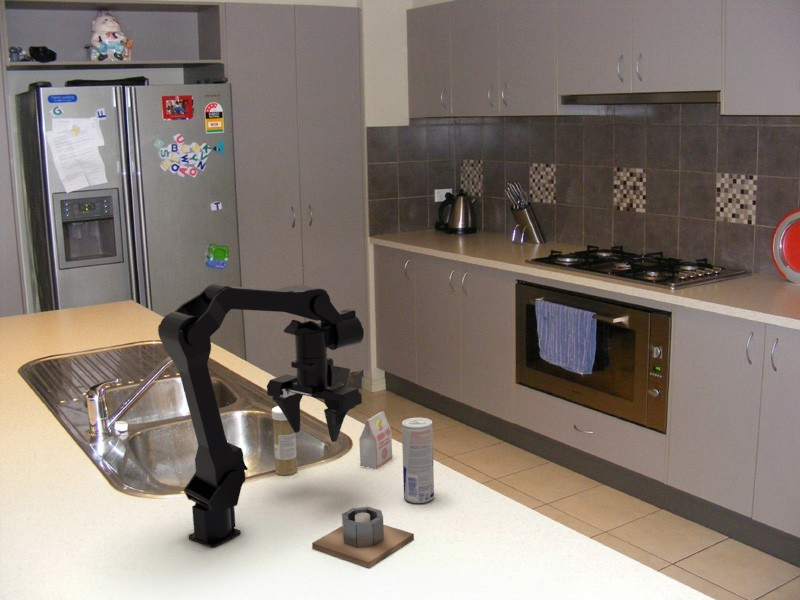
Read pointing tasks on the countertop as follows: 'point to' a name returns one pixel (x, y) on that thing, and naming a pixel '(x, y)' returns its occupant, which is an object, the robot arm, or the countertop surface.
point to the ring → (363, 528)
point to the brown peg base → (364, 555)
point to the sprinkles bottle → (284, 444)
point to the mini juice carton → (375, 442)
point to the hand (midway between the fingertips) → (315, 436)
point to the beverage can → (418, 460)
